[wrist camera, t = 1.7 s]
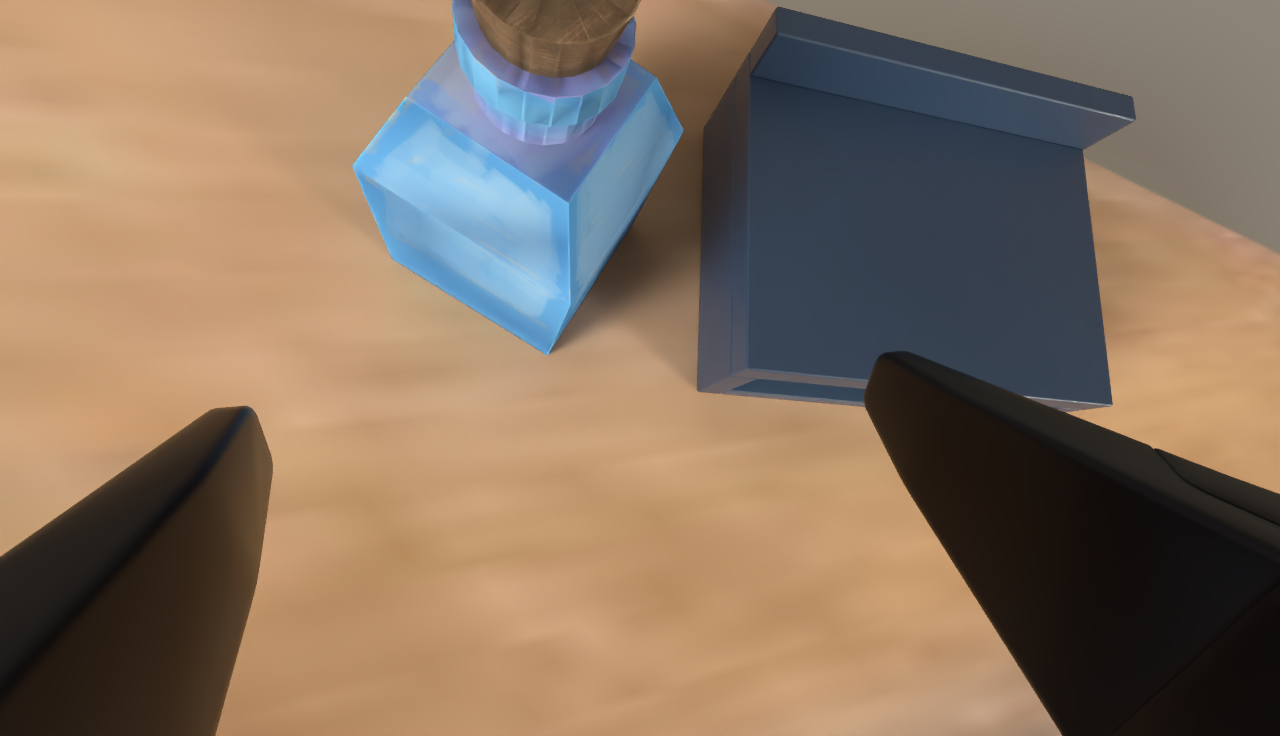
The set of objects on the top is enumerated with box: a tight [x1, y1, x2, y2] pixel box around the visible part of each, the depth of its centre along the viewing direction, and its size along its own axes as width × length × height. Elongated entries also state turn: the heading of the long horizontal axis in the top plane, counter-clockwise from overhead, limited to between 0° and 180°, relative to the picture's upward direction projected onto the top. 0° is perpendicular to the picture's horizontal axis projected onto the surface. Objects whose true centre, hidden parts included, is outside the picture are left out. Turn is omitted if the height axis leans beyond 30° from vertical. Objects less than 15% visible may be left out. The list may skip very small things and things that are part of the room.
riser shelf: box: [697, 7, 1136, 412], centre depth 22 cm, size 11×14×6 cm
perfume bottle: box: [352, 0, 684, 355], centre depth 16 cm, size 6×6×12 cm
